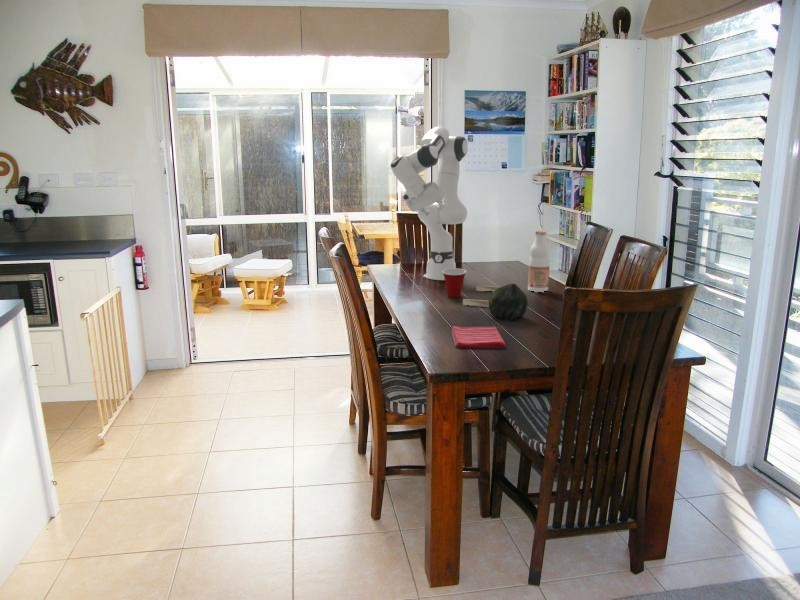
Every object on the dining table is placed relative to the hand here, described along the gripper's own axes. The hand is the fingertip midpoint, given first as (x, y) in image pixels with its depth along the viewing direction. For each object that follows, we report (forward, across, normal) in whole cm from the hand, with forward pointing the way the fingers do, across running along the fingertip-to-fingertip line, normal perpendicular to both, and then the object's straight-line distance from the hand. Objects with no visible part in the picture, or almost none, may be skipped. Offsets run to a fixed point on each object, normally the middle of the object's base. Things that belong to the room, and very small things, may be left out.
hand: (435, 211), depth 291 cm
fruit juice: (+59, -17, -5) cm, 62 cm away
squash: (+37, -36, +42) cm, 66 cm away
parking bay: (+41, -12, +19) cm, 47 cm away
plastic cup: (+32, +1, +22) cm, 40 cm away
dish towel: (+23, -46, +70) cm, 86 cm away
